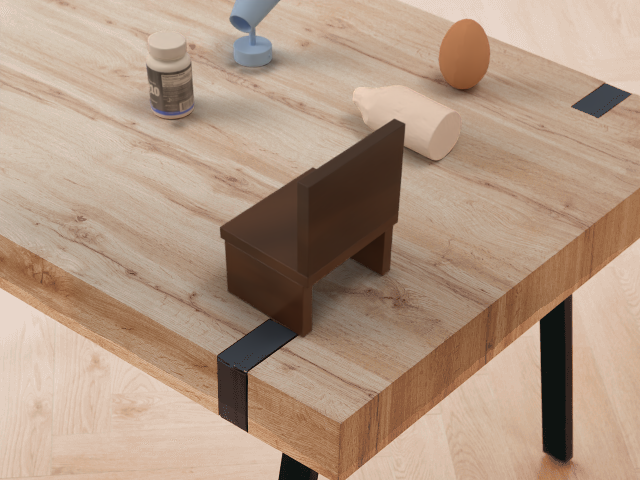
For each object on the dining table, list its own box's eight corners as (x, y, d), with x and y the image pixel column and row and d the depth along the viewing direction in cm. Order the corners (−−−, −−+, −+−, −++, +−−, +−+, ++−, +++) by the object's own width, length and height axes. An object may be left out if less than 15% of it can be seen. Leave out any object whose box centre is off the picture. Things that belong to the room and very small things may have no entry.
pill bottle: (146, 100, 118) (139, 31, 113) (189, 94, 120) (183, 25, 114) (156, 123, 115) (148, 52, 109) (199, 116, 116) (194, 46, 111)
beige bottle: (372, 104, 120) (375, 60, 116) (460, 146, 114) (465, 100, 111) (337, 126, 116) (339, 80, 112) (426, 170, 111) (430, 123, 107)
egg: (494, 83, 124) (503, 17, 119) (472, 105, 121) (480, 38, 115) (450, 69, 126) (457, 3, 121) (427, 90, 123) (432, 23, 117)
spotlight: (251, 38, 130) (221, 62, 125) (249, -41, 123) (217, -18, 118) (287, 48, 128) (258, 73, 124) (287, -32, 122) (255, -8, 117)
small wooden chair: (223, 288, 96) (213, 137, 85) (312, 227, 103) (313, 80, 92) (307, 340, 91) (308, 187, 81) (394, 272, 98) (405, 123, 88)
